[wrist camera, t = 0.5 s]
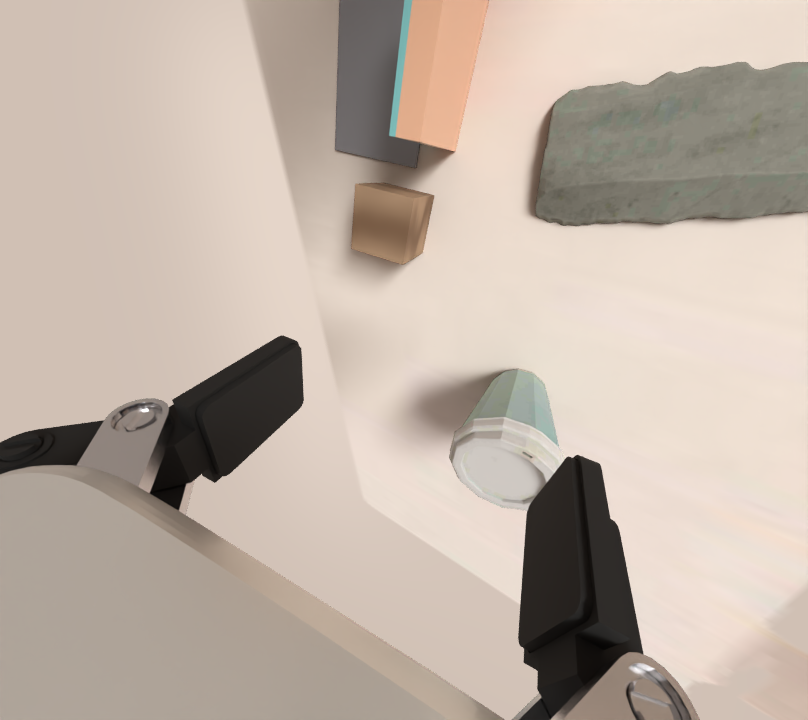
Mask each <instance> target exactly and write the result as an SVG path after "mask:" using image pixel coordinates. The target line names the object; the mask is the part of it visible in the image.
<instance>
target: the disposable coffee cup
mask: <svg viewBox="0 0 808 720" xmlns="http://www.w3.org/2000/svg"><path fill="white" fill-rule="evenodd" d="M449 458H450V460H451V463H452V465H453V467H454V470H455V472H456V474H457V476H458V478H459V479H460V481H461V482H462V483H463V484H464V485H466V486H467V487H468V488H469V489H470V490H471V491H472V492H474V493H475V494H476V495H477V496H478V497H480V498H482V499H485V500H487V501H489V502H491V503H494V504H496V505H498V506H500V507H503V508H511V509H518V510H526V511H528V508H529V505H530V504H531V502H532V501H533V500H534V498H535V497H536V496H537V494H538V493H539V492H540V491H541V489H542V488H543V487H544V486H545V484H546V483H547V482H548V480H549V479H550V478H551V477H552V475H553V474H554V473H555V471H556V470H557V469H558V468H559V466H560V465H561V464H562V463H563V461H564V460H565V459H564V455H563V452H562V450H561V449H560V448H559V445H558V440H557V436H556V431H555V427H554V422H553V418H552V413H551V409H550V404H549V400H548V395H547V392H546V388H545V384H544V383H543V382H542V381H541V380H540V379H539V378H538V377H537V376H535V375H534V374H533V373H531V372H528V371H525V370H521V369H515V370H508V371H505V372H503V373H502V374H500V375H499V376H498V377H496V378H495V379H494V380H493V381H492V383H491V384H490V386H489V387H488V389H487V390H486V392H485V393H484V395H483V396H482V398H481V399H480V401H479V402H478V404H477V405H476V407H475V408H474V410H473V411H472V413H471V414H470V416H469V417H468V419H467V420H466V422H465V423H464V425H463V426H462V427H461V428H460V429H458V430H457V431H455V433H454V437H453V441H452V445H451V449H450V455H449Z"/></svg>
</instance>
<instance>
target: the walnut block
mask: <svg viewBox="0 0 808 720" xmlns="http://www.w3.org/2000/svg"><path fill="white" fill-rule="evenodd" d="M433 199H434V195H431V194H427V193H423V192H419V191H415V190H411V189H407V188H403V187H398V186H394V185H390V184H386V183H362V184H355V198H354V213H353V228H352V244H351V249H354V250H357V251H360V252H363V253H366V254H370V255H373V256H376V257H379V258H382V259H386V260H389V261H392V262H395V263H399V264H402V265H403V264H405V263H407V262H408V261H410V260H412V259H413V258H415V257H417V256H418V255H420V254H422V253H423V248H424V244H425V239H426V234H427V229H428V224H429V219H430V214H431V209H432V204H433Z"/></svg>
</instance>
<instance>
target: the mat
mask: <svg viewBox="0 0 808 720" xmlns="http://www.w3.org/2000/svg"><path fill="white" fill-rule="evenodd" d="M403 9H404V0H340V5H339V38H338V72H337V106H336V139H335V150H338V151H343V152H347V153H351V154H356V155H360V156H365V157H369V158H374V159H378V160H382V161H387V162H391V163H396V164H400V165H404V166H409V167H413V168H416V165H417V159H418V153H419V146H420V144H419V143H416V142H412V141H408V140H404V139H400V138H396V137H392V136H389V132H390V123H391V114H392V105H393V97H394V88H395V79H396V70H397V61H398V53H399V44H400V35H401V26H402V17H403Z"/></svg>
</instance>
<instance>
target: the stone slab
mask: <svg viewBox="0 0 808 720" xmlns="http://www.w3.org/2000/svg"><path fill="white" fill-rule="evenodd" d="M807 211H808V62H792V63H786V64H782V65H779V66H776V67H773V68H769V69H764V70H757V69H754V68H752V67H751V66H750V65H749V64H748V63H746V62H736V63H732V64H728V65H723V66H718V67H699V68H696V69H693V70H691V71H688V72H684V73H679V74H676V73H673V72H671V71H670V72H668V73H666V74H664V75H662V76H660V77H659V78H657V79H655V80H654V81H652V82H651V83H649V84H647V85H641V86H640V85H633V84H630V83H628V82H623V81H622V82H619V83H615V84H607V85H603V86H588V87H586V88H583V89H580V90H571V91H569V92H568V93H567V94H565V95H564V96H562V97H561V98H559V99H558V100H557V101H556V102H555V104H554V107H553V109H552V113H551V119H550V125H549V132H548V137H547V144H546V147H545V150H544V156H543V163H542V168H541V175H540V182H539V187H538V195H537V200H536V216H537V217H538V218H541V219H544V220H546V221H547V222H549V223H553V222H557V223H559V224H561V225H563V226H566V225H575V226H580V225H583V224H584V225H590V224H594V223H619V222H621V221H628V222H651V223H666V224H670V223H673V222H675V221H680V220H684V219H687V218H703V217H709V216H712V217H716V218H753V217H757V216H762V215H769V214H781V213H786V212H799V213H802V212H807Z"/></svg>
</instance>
